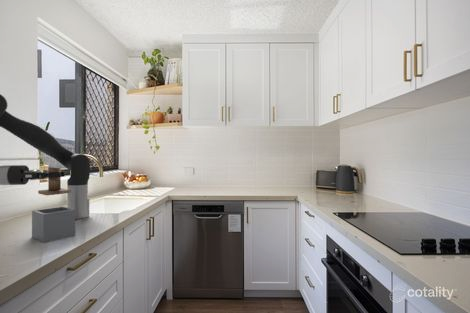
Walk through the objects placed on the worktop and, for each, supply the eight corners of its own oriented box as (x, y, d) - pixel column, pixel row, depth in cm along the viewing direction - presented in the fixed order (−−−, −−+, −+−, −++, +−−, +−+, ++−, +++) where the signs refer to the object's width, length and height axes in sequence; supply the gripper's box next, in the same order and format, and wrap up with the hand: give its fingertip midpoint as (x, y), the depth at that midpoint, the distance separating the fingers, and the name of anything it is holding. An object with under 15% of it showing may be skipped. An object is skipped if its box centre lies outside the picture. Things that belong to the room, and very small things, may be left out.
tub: (62, 230, 112) (63, 206, 112) (75, 235, 105) (75, 209, 105) (31, 237, 103) (32, 210, 103) (43, 242, 96) (43, 214, 96)
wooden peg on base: (61, 191, 110) (61, 166, 110) (70, 192, 105) (70, 167, 105) (38, 193, 103) (38, 167, 103) (46, 195, 98) (46, 168, 98)
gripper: (0, 166, 93) (55, 165, 98) (20, 164, 107) (68, 164, 112) (0, 187, 93) (56, 185, 98) (20, 182, 107) (68, 181, 112)
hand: (62, 174), depth 105 cm, fingers closed on wooden peg on base, 4 cm apart
